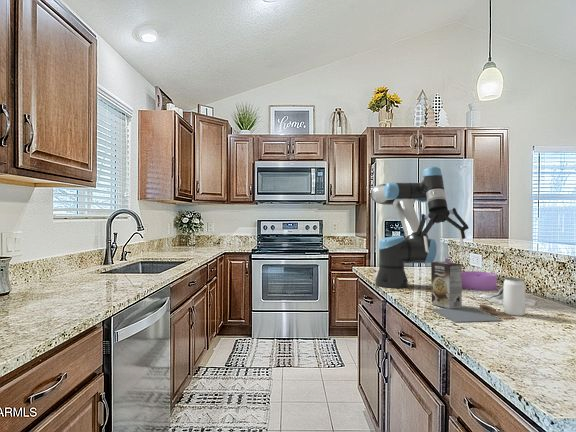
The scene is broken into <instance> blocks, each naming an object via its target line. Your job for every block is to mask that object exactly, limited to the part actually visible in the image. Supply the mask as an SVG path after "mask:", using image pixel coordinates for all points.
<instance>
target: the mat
mask: <svg viewBox="0 0 576 432" xmlns="http://www.w3.org/2000/svg"><path fill="white" fill-rule="evenodd" d="M431 311H432V312H434V313H436V314H438V315H440V316H442V317H444V318H446V319H447V320H449V321H451V322H453V323H459V324H460V323H485V322H487V323H488V322H503V319H502V318H498V317H497V316H495V315H494V316H493V315H492V314H490V313H486V312H484V311H481V310H479V309H477V308H475V307H462V308H453V309H448V308H431Z"/></svg>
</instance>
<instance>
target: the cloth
mask: <svg viewBox="0 0 576 432" xmlns="http://www.w3.org/2000/svg"><path fill="white" fill-rule="evenodd" d="M503 289H504V286H502V287H501V288H500V289H499V290H498V291H497V293H495V292H493V293H492V292H491V293H490V292H488V293H487V292H486V293H483V294H480V295H479V297H478V298H481V297H482V298H483V299H487V302H490V303H495V304H499V305H503ZM482 298H481V299H482ZM525 306H530V307H535V306H536V300H534V299H531V298H526V297H525Z"/></svg>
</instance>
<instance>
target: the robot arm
mask: <svg viewBox="0 0 576 432" xmlns="http://www.w3.org/2000/svg"><path fill="white" fill-rule="evenodd" d="M422 174H423V175H422V177H423V180H422V181H420V182H387V183H383V184H382V183H381V184H378V185H377V184H376V185H374V186H373V188H372V189H371V190H370V198H371V199H372V201H373V202H375V203H376V204H378V205H385V206H387V205H388V206H389V205H390V206H392V207H393V209H394V210H395V211H397V214H398V216H399V220H400V222H401V225H402V229H403V233H404V236H403V235H397V236H386V237H383V238H381V239H379V242H378V244H379V245H378V263H379V264H378V271H377V273H376V274H377V275H376V277H375V283H374V284H375V286H377V287H382V288H387V289H388V288H389V289H390V288H391V289H398V288H399V289H402V288H408V287H409V281H408V278H407V274H406V272H405V264H424V265H425V264H431V262H435V260H436V255H437V249H438V248H437V241H436V239H434V238H429V235H428V233H429V231H431V228H433V226H434V225H435V223H436V224H440V223H445V222H447V223H450V224H451V225H453V226H454V227H455V228H456V229H458V237H459V241H460V246H461V248H465V245H464V240H465V239H466V232H465V231H466V230H469V228H470V227H469V226H468V224H467V223H466V222H465V220H464V219H463V218H462V217H461V216H460V215H459V213H458V211H457V209H456V208H455V207H453V208H452V209H449V208H448V207H449V206H448V203H447V197H446V191H445V186H444V185H445V184H444V179H443V173H442V170H441V168H440V167H438V166H430V167H427V168H425V169H424V170H423V172H422ZM416 201H417V202H419V203H426V202H427V209H428V213H427V214H425V213H422V214H421V217H420V218H421V220H419V218H418V215H417V212H416V209H415V207H414V205H415V203H416ZM450 214H451V215H454V216H455V218H456V219H457V221H459V223H460V224H459V223H457V222H456V221H455V220H453V219H452V218H450V217H449V216H450ZM428 218H429V219H430V220H429V221H428V223H427V224H426V221H427V220H428ZM425 224H426V226H425Z"/></svg>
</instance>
